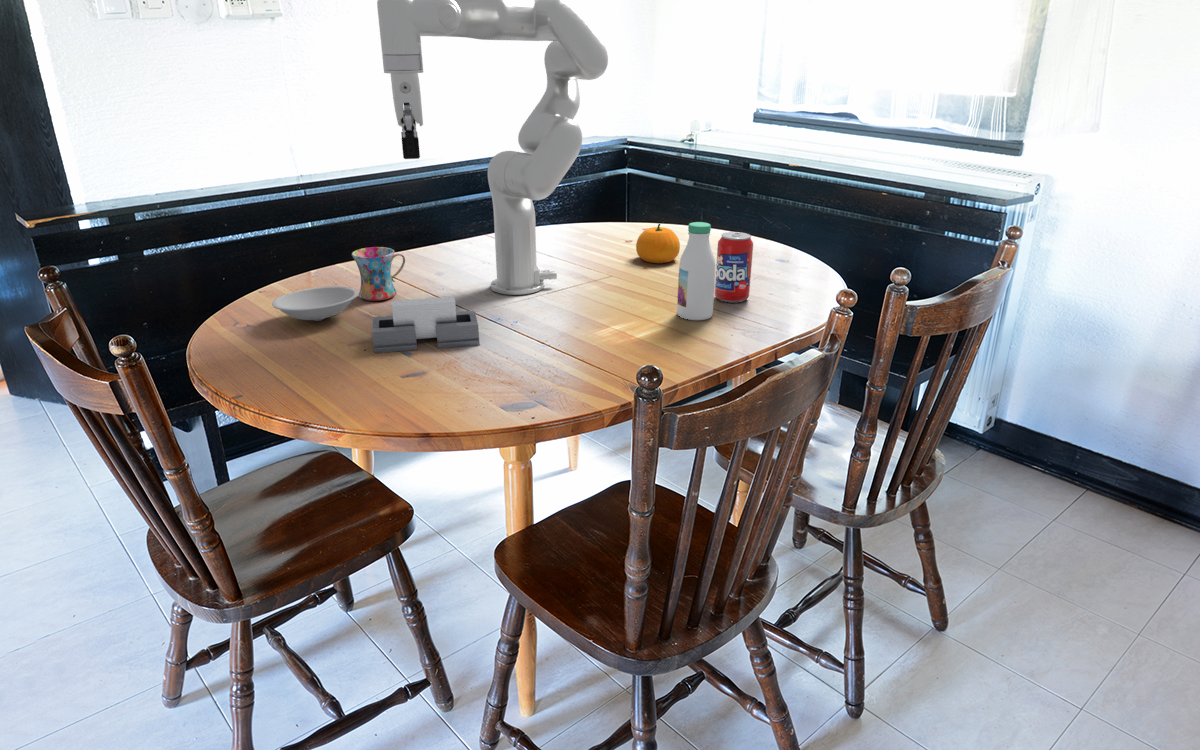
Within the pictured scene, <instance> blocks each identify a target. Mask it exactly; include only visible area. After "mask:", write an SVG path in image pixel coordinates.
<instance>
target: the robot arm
mask: <svg viewBox="0 0 1200 750" xmlns="http://www.w3.org/2000/svg"><path fill="white" fill-rule="evenodd" d="M376 1H377V3H376V5H377V17H378V27H379V37H380V47H381V54H382V55H381V56H382V66H383V67H382V68H383V74H390V82H391V90H392V99H393V105H394V112H395V117H396V121H397V125H398V126H399V127H401V132H400V133H401V146H402V147H401V148H402V156H403V157H402V158H403V160H418V159H420V158H421V152H420V144H419V143H420V142H419V137H418V131H417V124H418V125H419V126H420V127H422V126H423V125H424V120H423V119H424V118H423V105H422V96H421V95H422V94H421V87H420V86H421V85H420V84H421V83H420V78H419V74H422V73H424V64H423V54H422V53H423V52H422V41H421V40H422V39H421V37H448V38H449V37H452V38H453V37H454V38H455V37H456V38H467V39H476V40H484V41H485V40H486V41H523V42H526V41H528V42H531V41H532V42H543V41H544V42H548V41H549V42H550V43H549V44H548V45H547V47H546V48H545V51H544V61H543V62H544V69H545V71H546V73H545V74H546V82H547V83H546V87H545V88H546V89H545V91H544V93H543V95H542V96H541V98H540V100H539V102H538V103H537V105H536V106H535V107H534V108H533V110H532V112H531V113H530V114H529V116H528V117H527V118H526V120H525V121H524V122H523V124H522V126H521V128H520V130H519V132H518V136H517V138H518V139H517V141H518V145H519V147H520V148H521V150H523V152H521V151H520V152H519V151H515V150H504V151H501V152H498V153H496V155H494V156H493V157H492V158H491V160H490V161H489V164H488V166H487V181H488V182H487V183H488V186H489V190H490V194H491V200H492V209H493V225H494V227H493V229H494V246H495V263H496V264H495V265H496V267H495V268H496V278H495V279H493V280H492V281H491V282H490V289H491V290H492V291H493V292H495V293H498V294H501V295H510V296H511V295H512V296H517V295H518V296H521V295H530V294H535V293H536V292H537V293H538V292H539V291H541V290H542V289H543V288H544V280H557V279H558V278H557V277H558V274H557V271H556V270H554V271H551V270H550V269H544V270H543V269H542V270H541V269H539V267H538V266H537V236H536V235H537V234H536V229H537V228H536V211H535V206H534V202H533V201H541V200H544V199H546V198H548V197H549V196H550V195H551V194H552V193H553V192H554V191H555V190H556V189H557V187H558V186H559V184H560V183H561V182H562V179H563V178H564V177H565V175H566V174H567V172H568V171H569V170H570V168H571V167H572V166H573V164H574V162H575V161H576V159H577V157H578V156H579V154H580V152H581V148H582V144H583V133H582V129H581V127H580V125H579V124H578V122H576V121H575V120H574V118H575V116H577V113H578V110H579V109H580V102H581V100H580V99H581V98H580V91H579V90H580V89H579V83H578V80H584V81H586V80H587V81H592V80H595V79H598V78H600V77H602V75H604V73H605V72H606V70H607V67H608V64H609V55H608V50H607V48H606V46H605V44H604V42H603V41H602V39H601V38H600V37H599V35H598V34H597V33H596V31H595V30H594V29H593V27H592V25H590V23H589V21H588V20H587V19H586V18H585V16H584V15H583V14H582V13H581V11H580V10H579V9H578V8H577V7H576V6H575V5H574V4H573V3H572V2H571V1H570V0H376Z"/></svg>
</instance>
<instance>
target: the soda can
mask: <svg viewBox="0 0 1200 750" xmlns="http://www.w3.org/2000/svg"><path fill="white" fill-rule="evenodd" d="M720 235H721V237H720V238H719V240H718V241H717V250H716V251H717V253H716V263H715V287H714V298H717V299H718V300H719V301H721V302H723V301H724V302H723V303H727V302H728V303H729V304H738V302H739V303H742V302H744V301H746V300H747V299H748V298H749V296H750V290H751V278H752V266H753V253H754V242H753V240H752V239H751V238H752V235H751V234H750V233H748V232H747V233H746V232H741V231H740V232H739V231H728V232H723V233H721V234H720ZM728 303H727V304H728Z"/></svg>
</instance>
